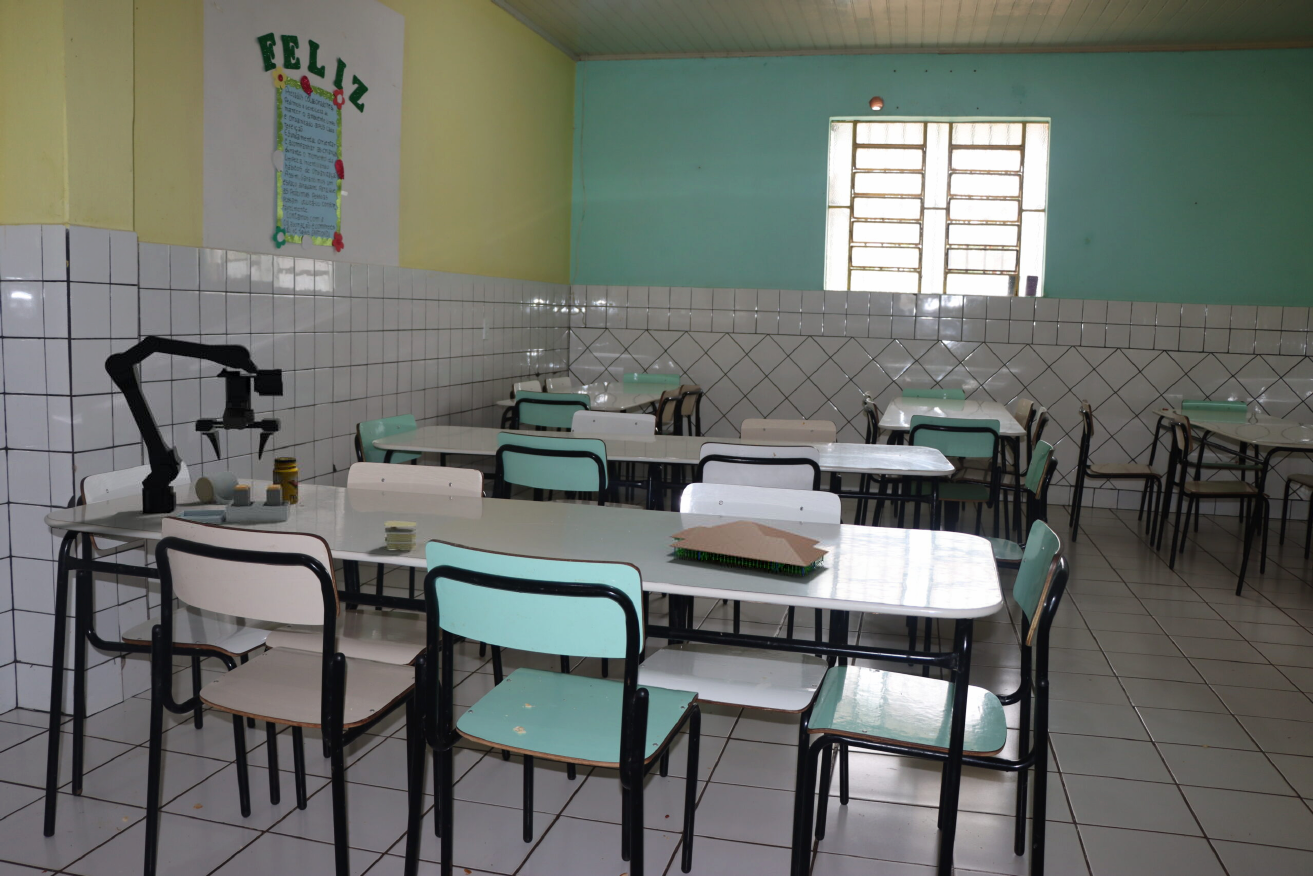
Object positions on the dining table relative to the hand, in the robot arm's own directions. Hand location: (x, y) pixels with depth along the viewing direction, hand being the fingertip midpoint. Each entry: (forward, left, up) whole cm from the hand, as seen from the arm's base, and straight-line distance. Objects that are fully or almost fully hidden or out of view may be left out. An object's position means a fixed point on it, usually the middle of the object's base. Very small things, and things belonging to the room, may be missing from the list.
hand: (239, 459), depth 241 cm
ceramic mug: (-6, +10, -13) cm, 17 cm away
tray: (-7, -13, -12) cm, 19 cm away
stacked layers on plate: (+38, -44, -13) cm, 60 cm away
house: (+111, -60, -13) cm, 127 cm away
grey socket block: (+6, -13, -12) cm, 19 cm away
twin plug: (+9, -13, -12) cm, 20 cm away
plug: (+2, -13, -11) cm, 18 cm away
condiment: (+9, +6, -13) cm, 17 cm away
